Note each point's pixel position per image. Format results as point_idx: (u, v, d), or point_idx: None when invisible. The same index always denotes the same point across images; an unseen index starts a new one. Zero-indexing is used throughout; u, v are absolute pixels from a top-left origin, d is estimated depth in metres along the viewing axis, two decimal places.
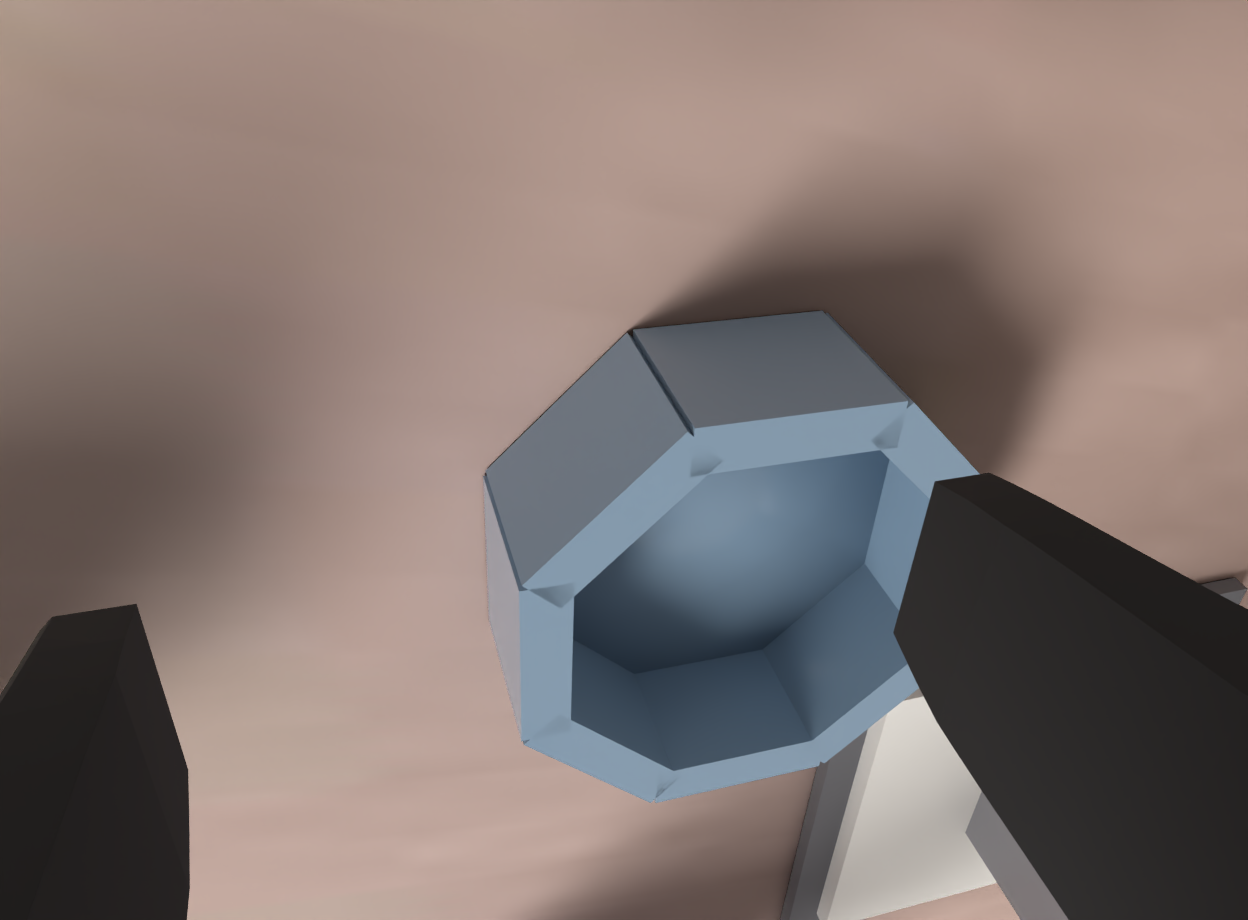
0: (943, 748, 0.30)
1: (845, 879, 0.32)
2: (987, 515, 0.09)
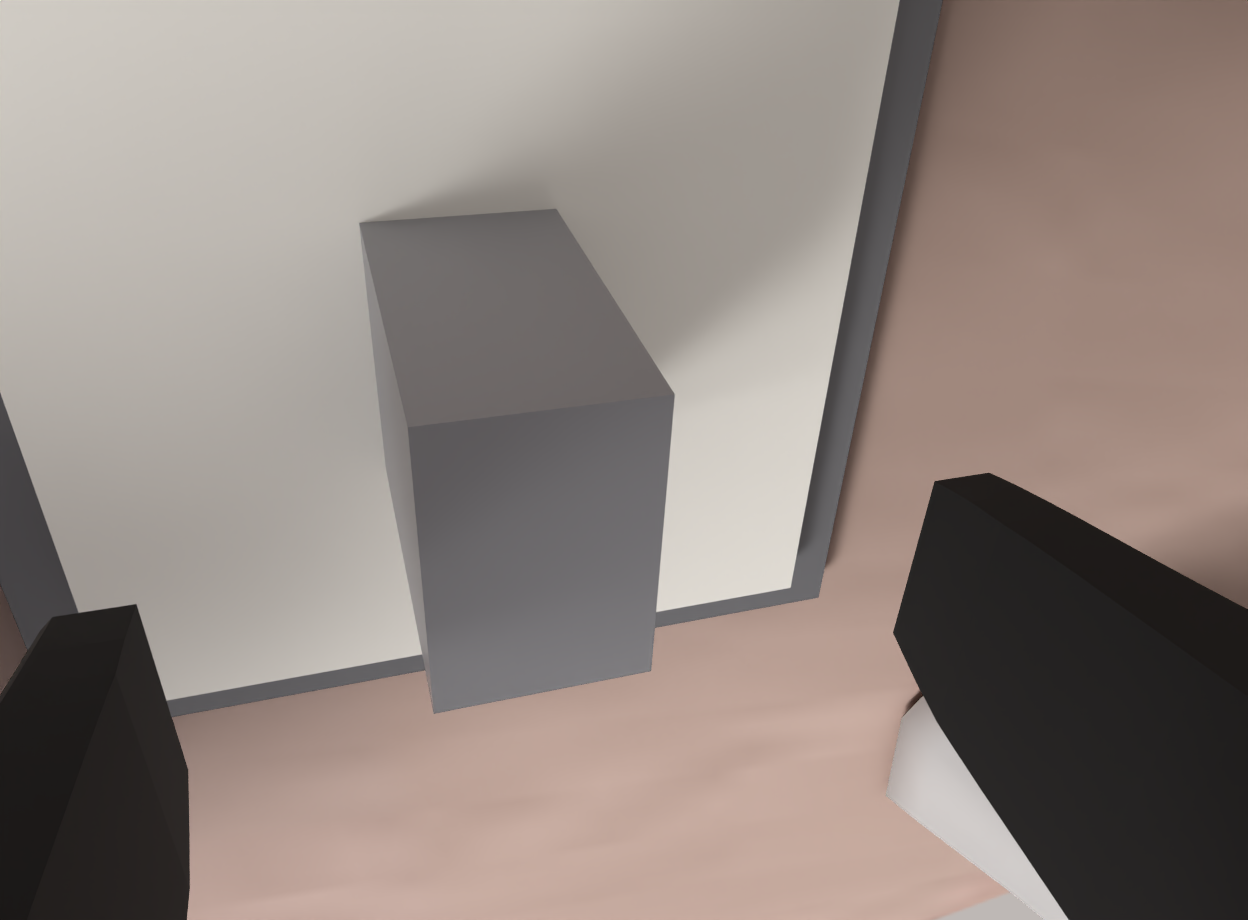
0: (153, 133, 0.11)
1: (84, 567, 0.14)
2: (987, 515, 0.09)
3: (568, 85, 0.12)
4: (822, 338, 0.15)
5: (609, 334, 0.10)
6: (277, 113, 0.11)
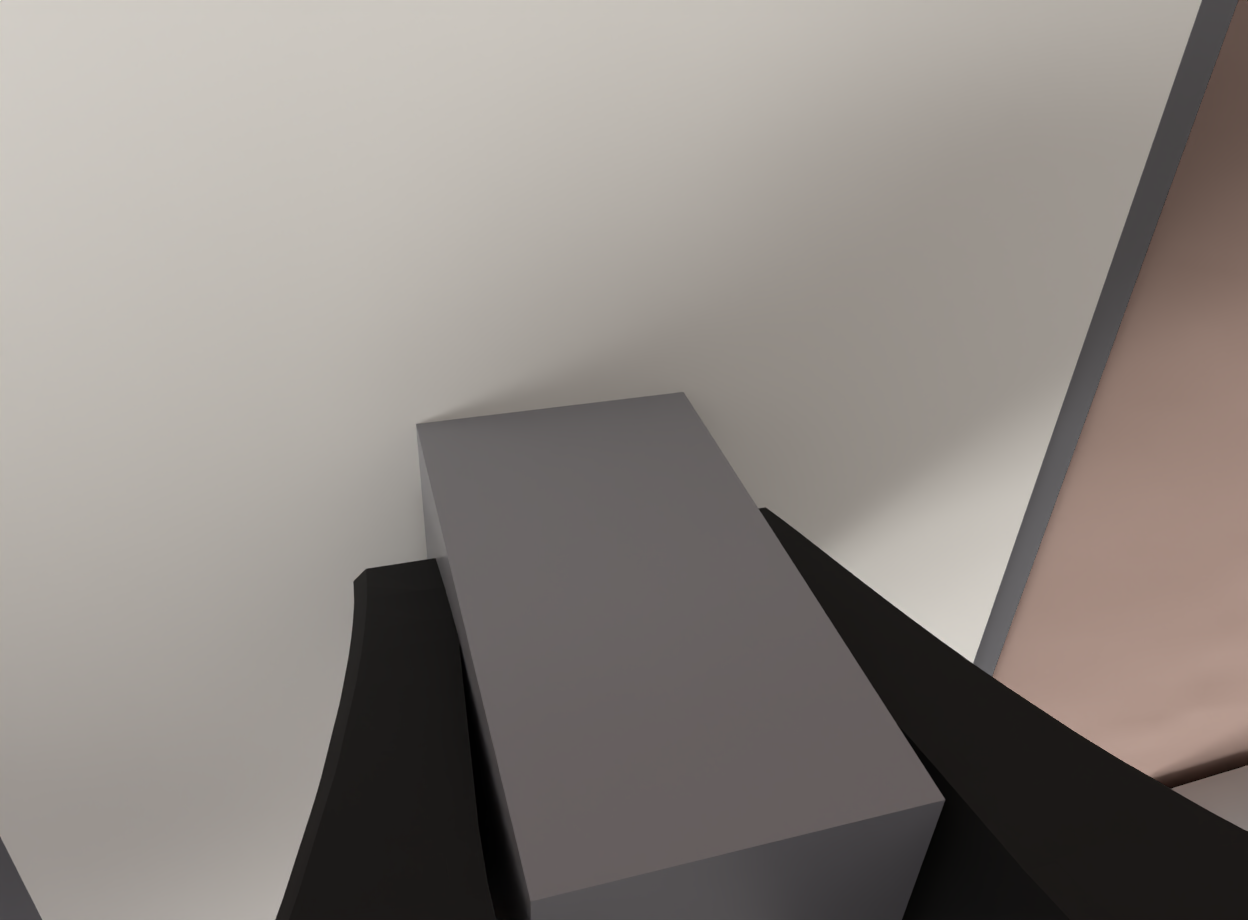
0: (124, 324, 0.08)
1: (39, 852, 0.10)
2: None
3: (712, 235, 0.09)
4: (1003, 523, 0.12)
5: (812, 654, 0.07)
6: (304, 290, 0.08)
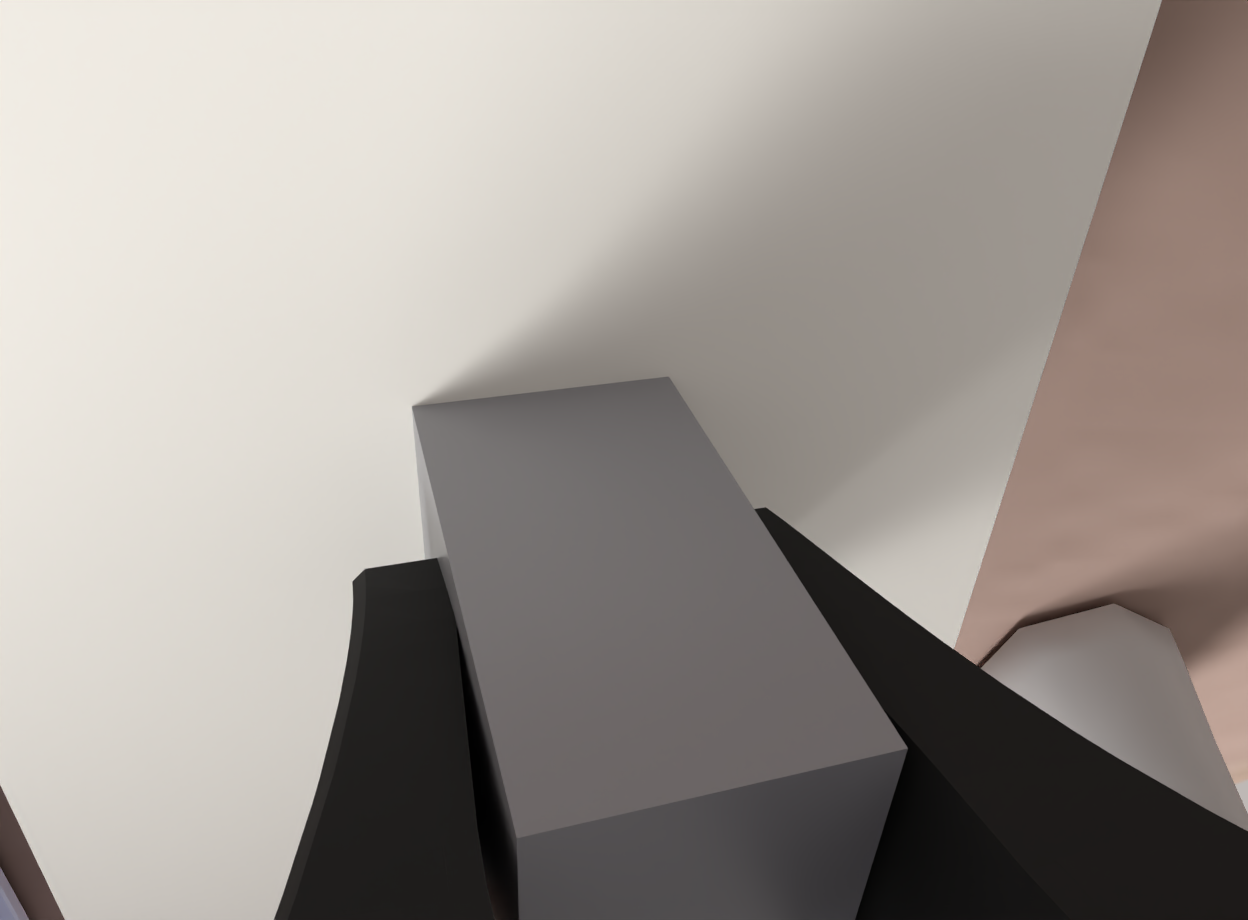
0: (133, 309, 0.08)
1: (49, 824, 0.11)
2: None
3: (695, 225, 0.09)
4: (982, 507, 0.12)
5: (786, 618, 0.07)
6: (304, 276, 0.08)
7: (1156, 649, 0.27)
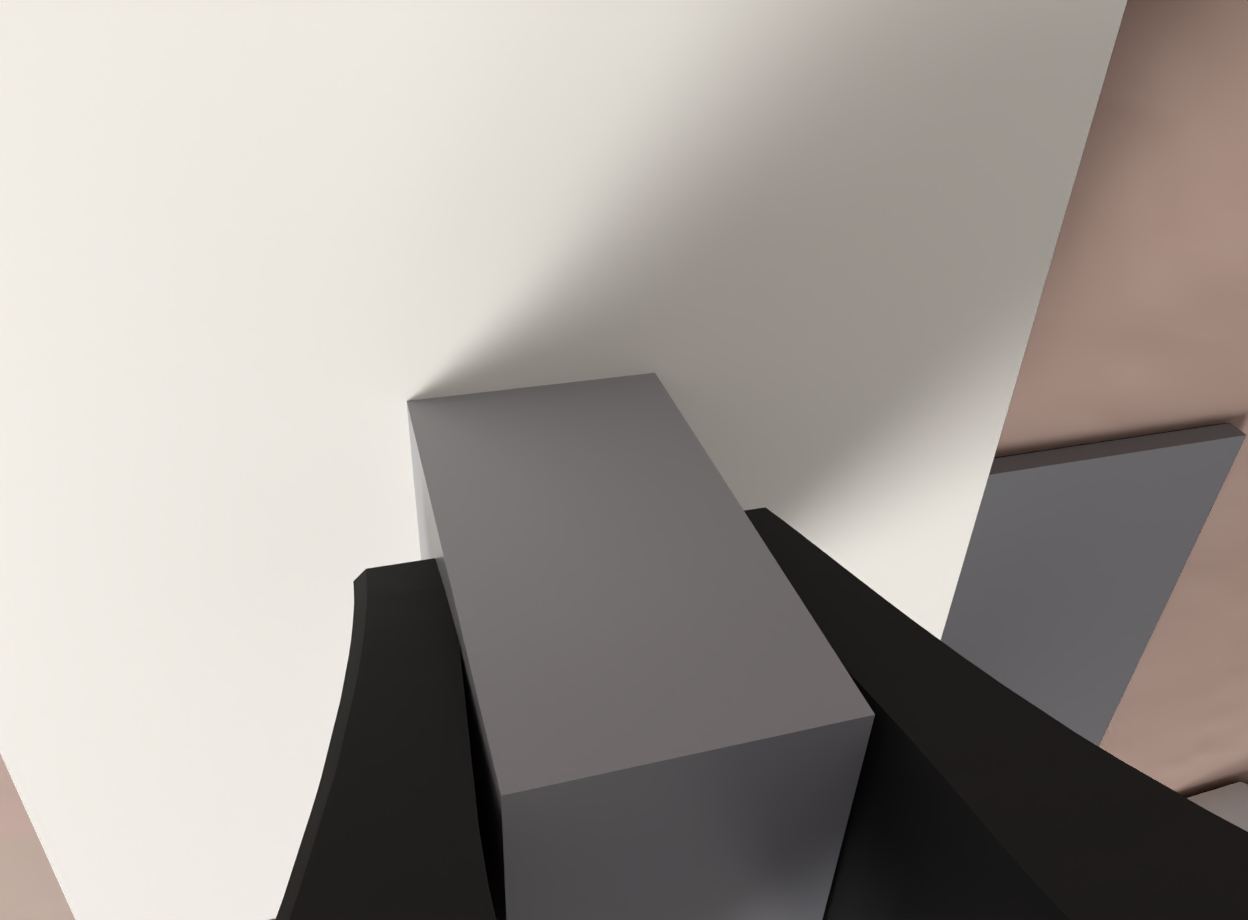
0: (139, 306, 0.08)
1: (55, 811, 0.11)
2: None
3: (678, 226, 0.09)
4: (964, 502, 0.12)
5: (761, 597, 0.07)
6: (303, 275, 0.09)
7: None
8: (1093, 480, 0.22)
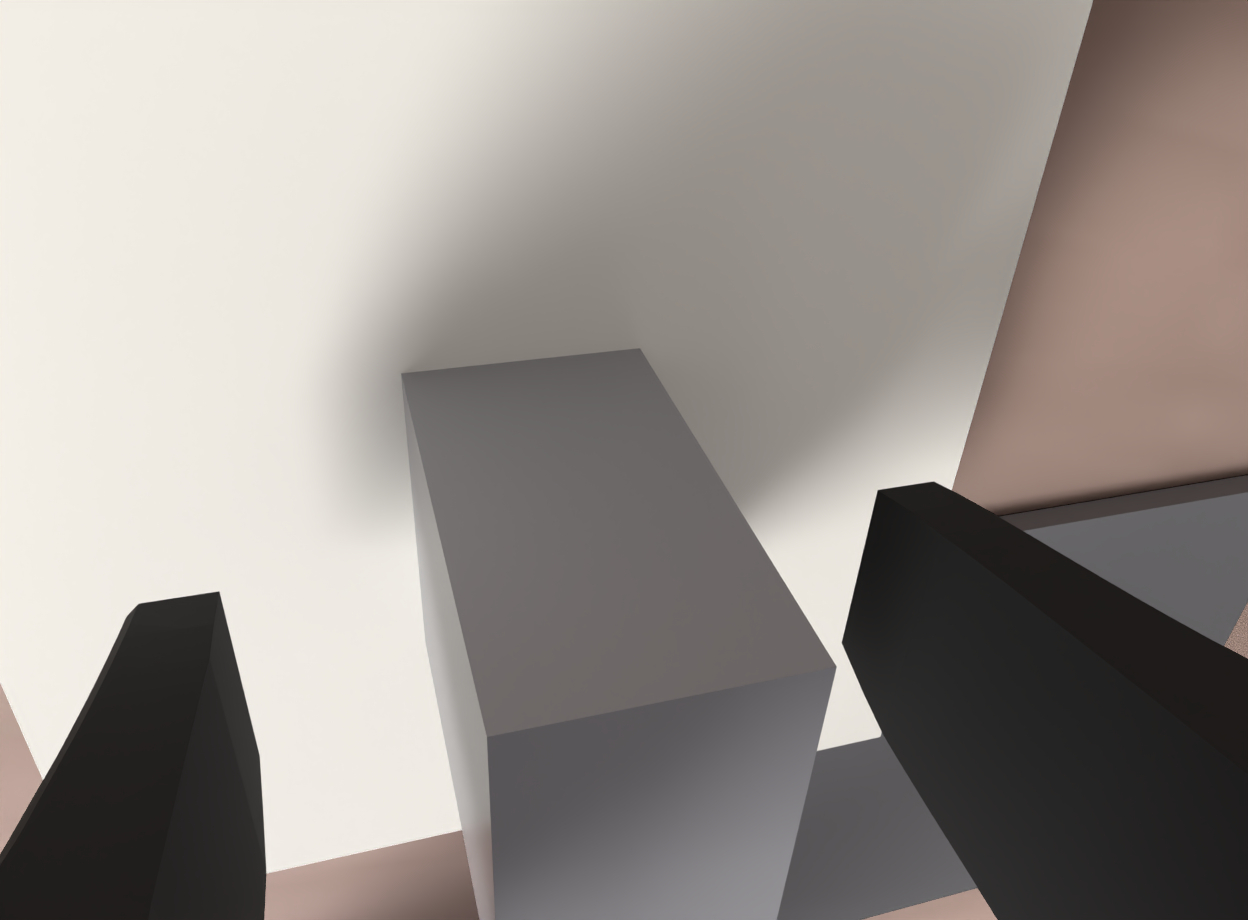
0: (146, 280, 0.09)
1: None
2: (926, 525, 0.09)
3: (662, 207, 0.10)
4: (939, 476, 0.13)
5: (735, 558, 0.08)
6: (302, 251, 0.09)
7: None
8: (1151, 530, 0.21)
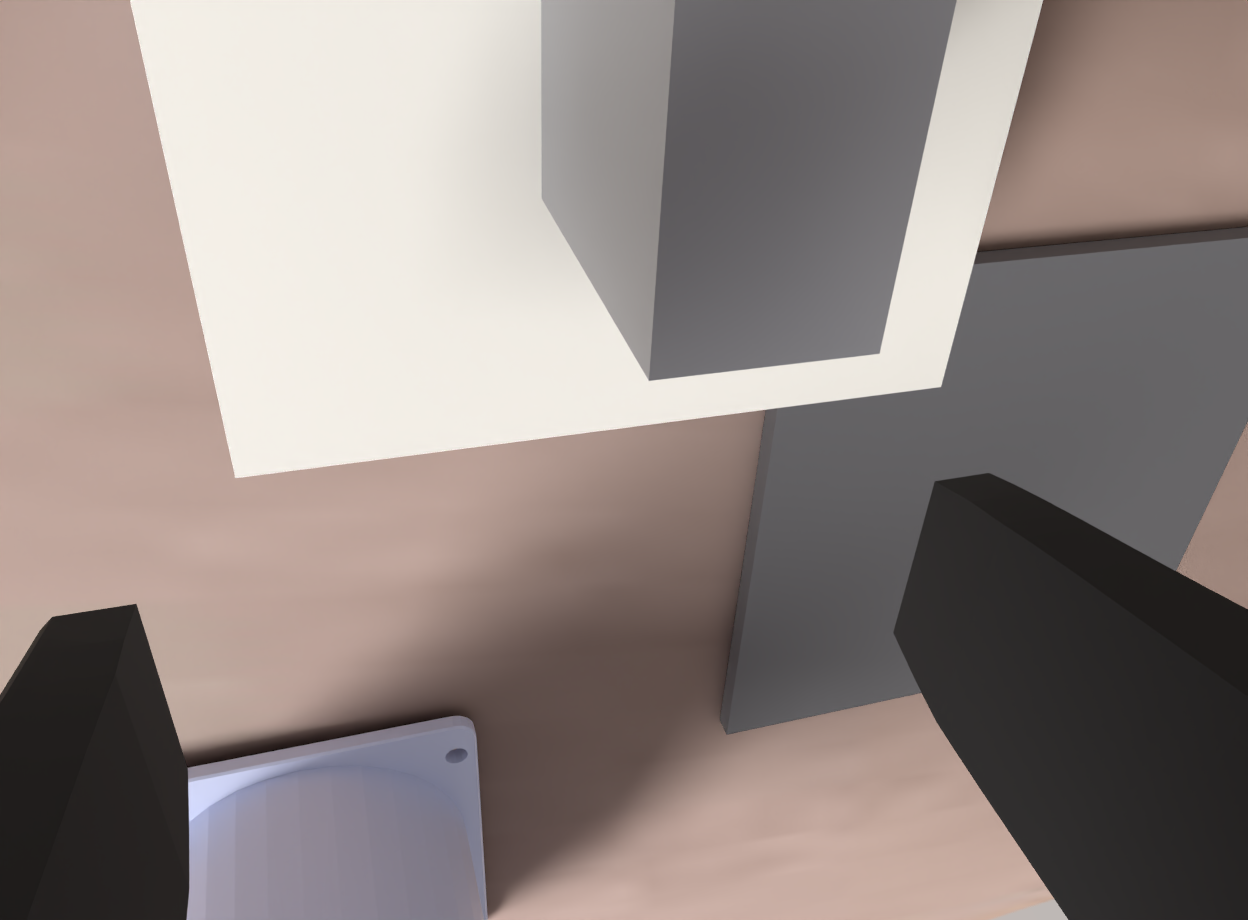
0: None
1: (217, 295, 0.13)
2: (987, 515, 0.09)
3: None
4: (1008, 74, 0.14)
5: None
6: None
7: None
8: (1186, 269, 0.22)
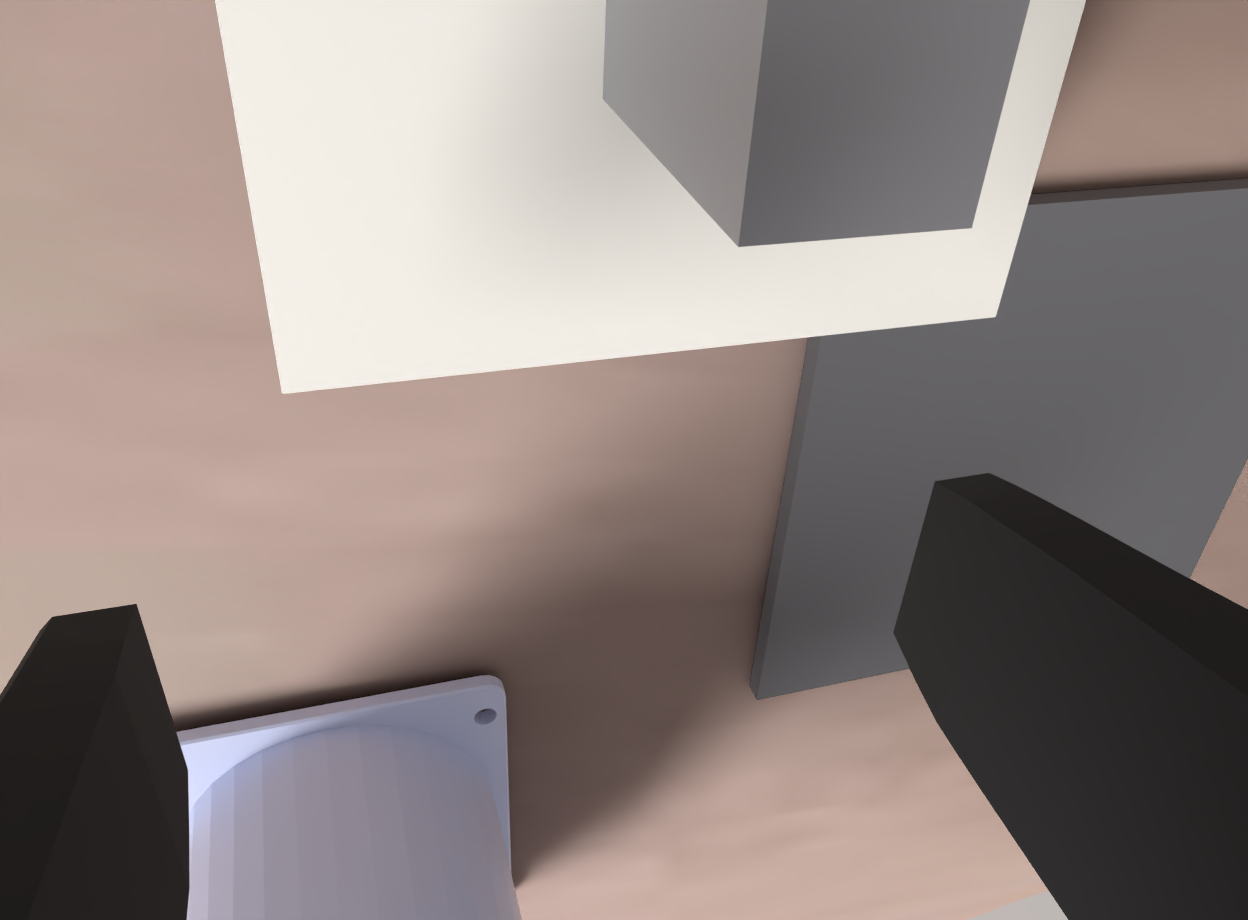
0: None
1: (270, 193, 0.12)
2: (987, 515, 0.09)
3: None
4: None
5: None
6: None
7: None
8: (1230, 216, 0.22)
